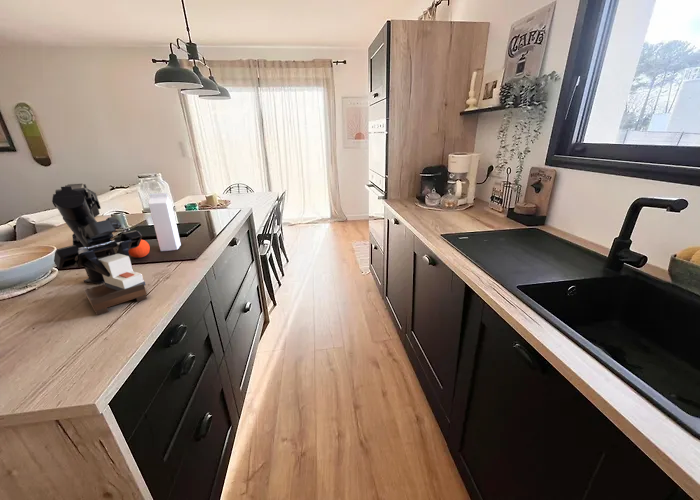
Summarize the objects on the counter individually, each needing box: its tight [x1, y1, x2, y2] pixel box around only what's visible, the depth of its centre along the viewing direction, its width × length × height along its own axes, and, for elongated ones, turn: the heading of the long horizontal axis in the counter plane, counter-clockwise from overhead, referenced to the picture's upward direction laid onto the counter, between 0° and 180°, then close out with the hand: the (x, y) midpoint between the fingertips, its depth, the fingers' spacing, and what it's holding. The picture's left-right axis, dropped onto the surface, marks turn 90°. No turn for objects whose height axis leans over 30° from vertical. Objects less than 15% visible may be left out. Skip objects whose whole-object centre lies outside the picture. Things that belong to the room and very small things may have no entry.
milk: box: [148, 192, 182, 252], centre depth 111 cm, size 6×6×22 cm
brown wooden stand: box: [83, 283, 148, 316], centre depth 77 cm, size 12×11×4 cm
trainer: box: [98, 253, 147, 291], centre depth 77 cm, size 10×5×8 cm, turn 65°
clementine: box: [129, 239, 151, 259], centre depth 106 cm, size 8×7×7 cm
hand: (120, 272), depth 77 cm, fingers closed on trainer, 5 cm apart
